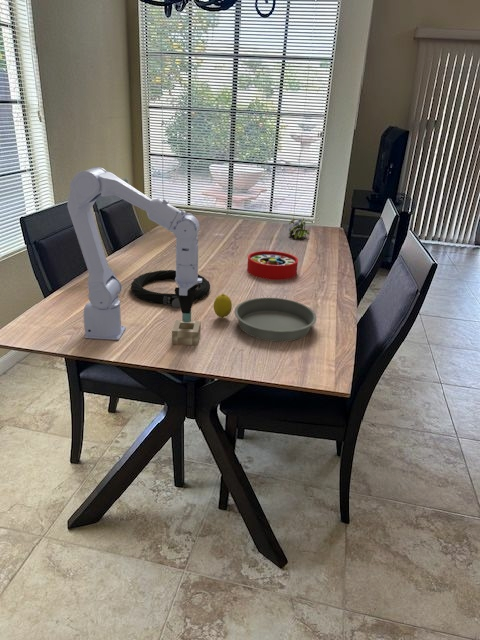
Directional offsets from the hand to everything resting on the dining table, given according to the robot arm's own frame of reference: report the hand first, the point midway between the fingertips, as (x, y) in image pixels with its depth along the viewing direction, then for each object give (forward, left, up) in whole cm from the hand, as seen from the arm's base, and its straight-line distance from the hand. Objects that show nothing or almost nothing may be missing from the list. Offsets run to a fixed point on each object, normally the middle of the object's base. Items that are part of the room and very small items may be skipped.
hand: (186, 310), depth 125 cm
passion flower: (+42, +124, -9) cm, 131 cm away
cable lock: (-10, +36, -9) cm, 38 cm away
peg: (0, 0, -3) cm, 3 cm away
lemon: (+9, +16, -9) cm, 20 cm away
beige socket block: (0, 0, -9) cm, 9 cm away
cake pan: (+25, +13, -9) cm, 29 cm away
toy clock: (+26, +64, -9) cm, 70 cm away
